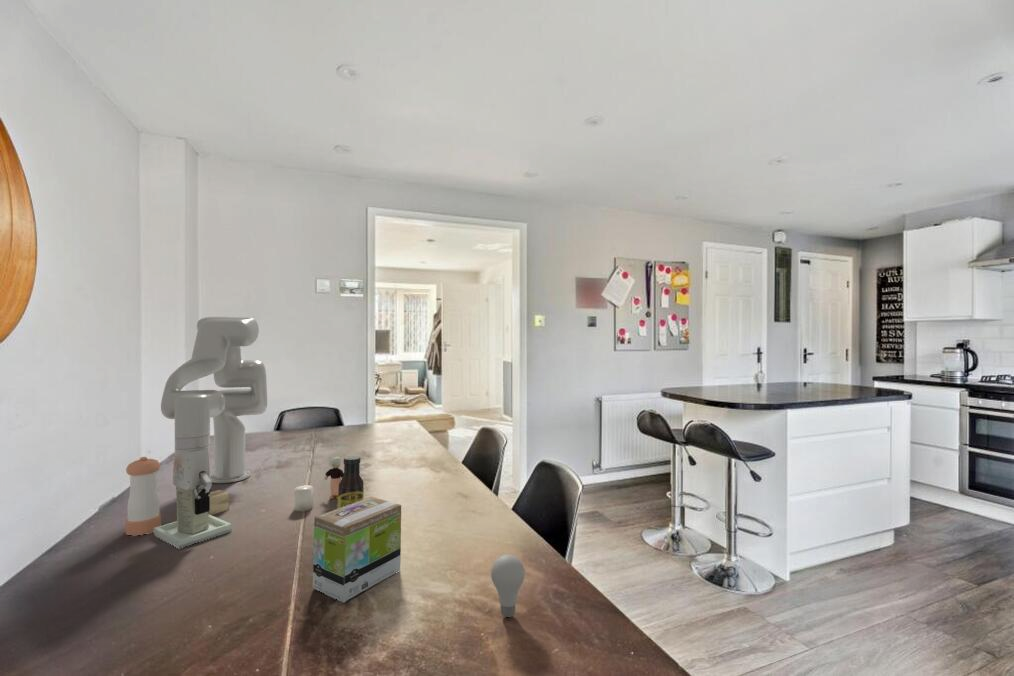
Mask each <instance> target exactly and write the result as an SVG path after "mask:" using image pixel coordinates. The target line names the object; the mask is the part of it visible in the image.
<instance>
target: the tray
mask: <svg viewBox="0 0 1014 676" xmlns="http://www.w3.org/2000/svg"><path fill="white" fill-rule="evenodd" d="M231 532H232V523H230V522H229V521H227V520H226V521H225V520H224V519H221V518H219V517H216V516H213V515H209V528H207V529H205V530H202V531H200V532H197V533H195V534H190V533H184V532H179V531H177V520H176V521H171V522H170V523H166V524H161V526H158V527H155V528H154V532H153V536H154V535H155V536H156V537H155V536H154V537H155V538H157V537H158V538H157V539H159V538H160V539H159V540H161V539H162V540H164V541H166V542H167V543H166V542H165V543H166V544H168V543H169V544H168V545H170V544H171V545H170V546H172V545H173V546H174V548H175V547H176V549H177V548H178V550H181V549H180V548H182V547H185V546H188V547H190V546H189V545H191V544H194V543H197V542H199V543H202V542H205V541H208V540H211V539H213V537H214V538H216V536H217V537H219V536H222V535H225V534H229V533H231ZM210 538H211V539H210ZM207 539H208V540H207ZM162 540H161V541H162ZM204 540H205V541H204ZM164 541H163V542H164ZM201 541H202V542H201ZM197 544H198V543H197ZM194 545H195V544H194ZM173 546H172V547H173ZM191 546H192V545H191ZM185 548H186V547H185ZM182 549H183V548H182Z"/></svg>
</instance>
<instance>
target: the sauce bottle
mask: <svg viewBox="0 0 1014 676" xmlns="http://www.w3.org/2000/svg"><path fill="white" fill-rule="evenodd" d="M360 464H361V457H360V456H358V455H350V456H345V457H344V458H343V467H344V468H343V473H344V476H343V478H341V482H340V483H339V493H338V499H337V508H336V509H338V508H341V507H344V506H347V505H349V504H352V503H355V502H358V501H361V500H364V494H365V493H364V480H363V478H362V477H361V475H360V474H361V473H360Z"/></svg>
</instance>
